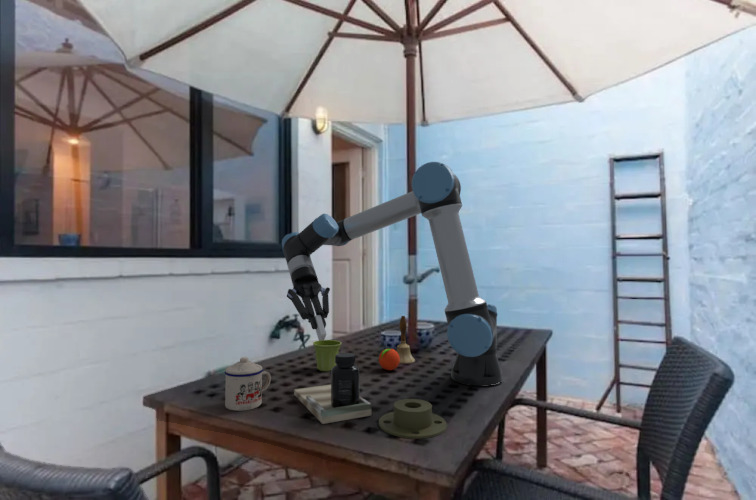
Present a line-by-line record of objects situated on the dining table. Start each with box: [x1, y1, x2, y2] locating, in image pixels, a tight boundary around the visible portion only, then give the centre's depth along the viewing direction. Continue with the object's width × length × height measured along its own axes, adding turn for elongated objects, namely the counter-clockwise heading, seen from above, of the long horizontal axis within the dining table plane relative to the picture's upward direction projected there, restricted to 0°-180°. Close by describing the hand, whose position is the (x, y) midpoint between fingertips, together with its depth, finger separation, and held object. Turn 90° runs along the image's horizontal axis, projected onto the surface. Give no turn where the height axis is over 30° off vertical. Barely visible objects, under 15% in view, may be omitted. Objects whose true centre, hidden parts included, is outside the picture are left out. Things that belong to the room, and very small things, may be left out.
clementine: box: [378, 347, 400, 371], centre depth 141 cm, size 8×7×7 cm
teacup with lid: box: [224, 356, 272, 412], centre depth 108 cm, size 12×9×12 cm
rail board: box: [293, 384, 372, 425], centre depth 108 cm, size 22×12×3 cm, turn 27°
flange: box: [378, 398, 448, 440], centre depth 96 cm, size 5×15×15 cm
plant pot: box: [312, 339, 342, 372], centre depth 142 cm, size 9×9×9 cm
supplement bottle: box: [330, 352, 361, 408], centre depth 103 cm, size 7×7×12 cm
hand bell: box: [396, 315, 416, 365], centre depth 154 cm, size 8×8×16 cm
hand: (322, 337), depth 116 cm, fingers closed
